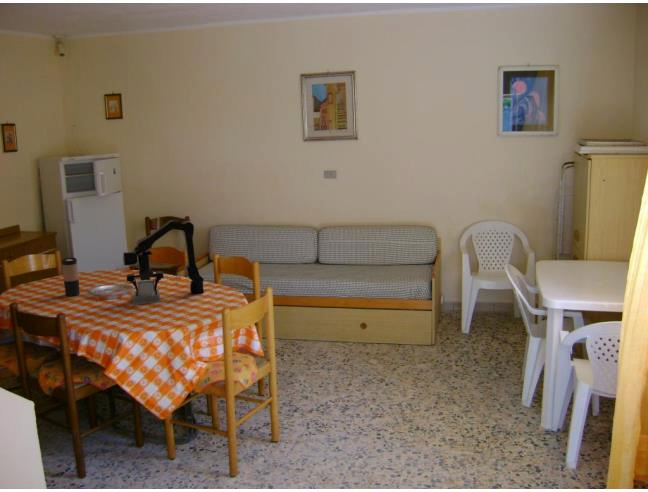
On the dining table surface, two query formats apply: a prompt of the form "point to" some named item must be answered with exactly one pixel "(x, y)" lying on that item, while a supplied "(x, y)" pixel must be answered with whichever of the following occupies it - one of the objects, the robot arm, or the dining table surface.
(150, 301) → the caddy
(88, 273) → the dining table surface
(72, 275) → the travel mug
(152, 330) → the dining table surface
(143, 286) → the medicine box
